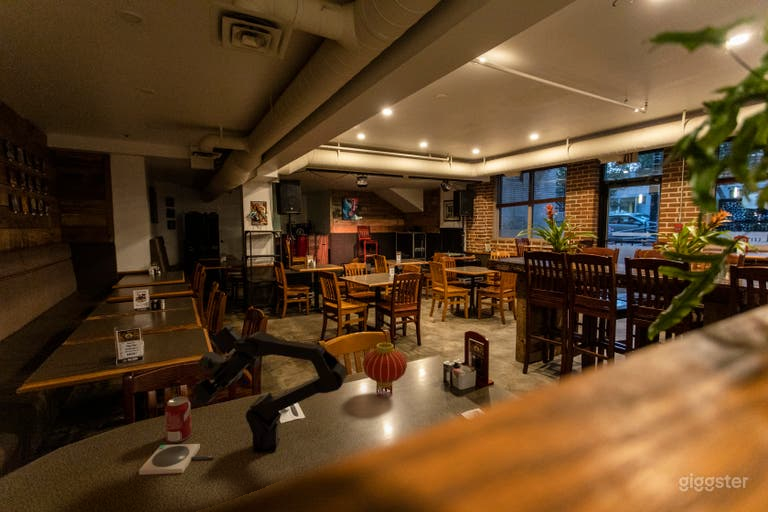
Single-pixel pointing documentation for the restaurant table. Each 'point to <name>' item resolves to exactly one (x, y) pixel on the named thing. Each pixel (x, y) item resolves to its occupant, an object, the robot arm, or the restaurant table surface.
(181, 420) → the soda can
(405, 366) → the lantern
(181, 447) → the charging dock
